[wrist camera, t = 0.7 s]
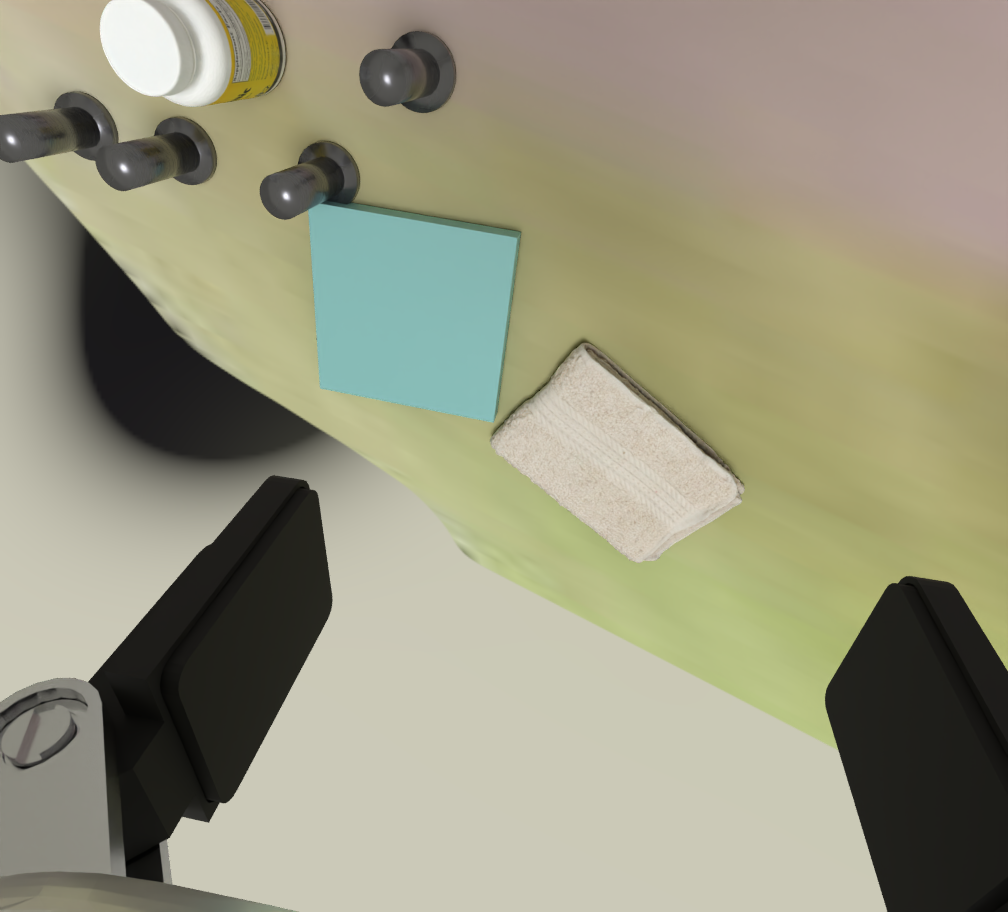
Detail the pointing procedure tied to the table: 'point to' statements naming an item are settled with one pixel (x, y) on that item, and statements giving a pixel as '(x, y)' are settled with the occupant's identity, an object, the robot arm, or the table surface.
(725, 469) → the washcloth
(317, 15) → the table surface
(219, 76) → the supplement bottle
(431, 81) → the spacer field
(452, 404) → the teal pad
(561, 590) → the table surface
